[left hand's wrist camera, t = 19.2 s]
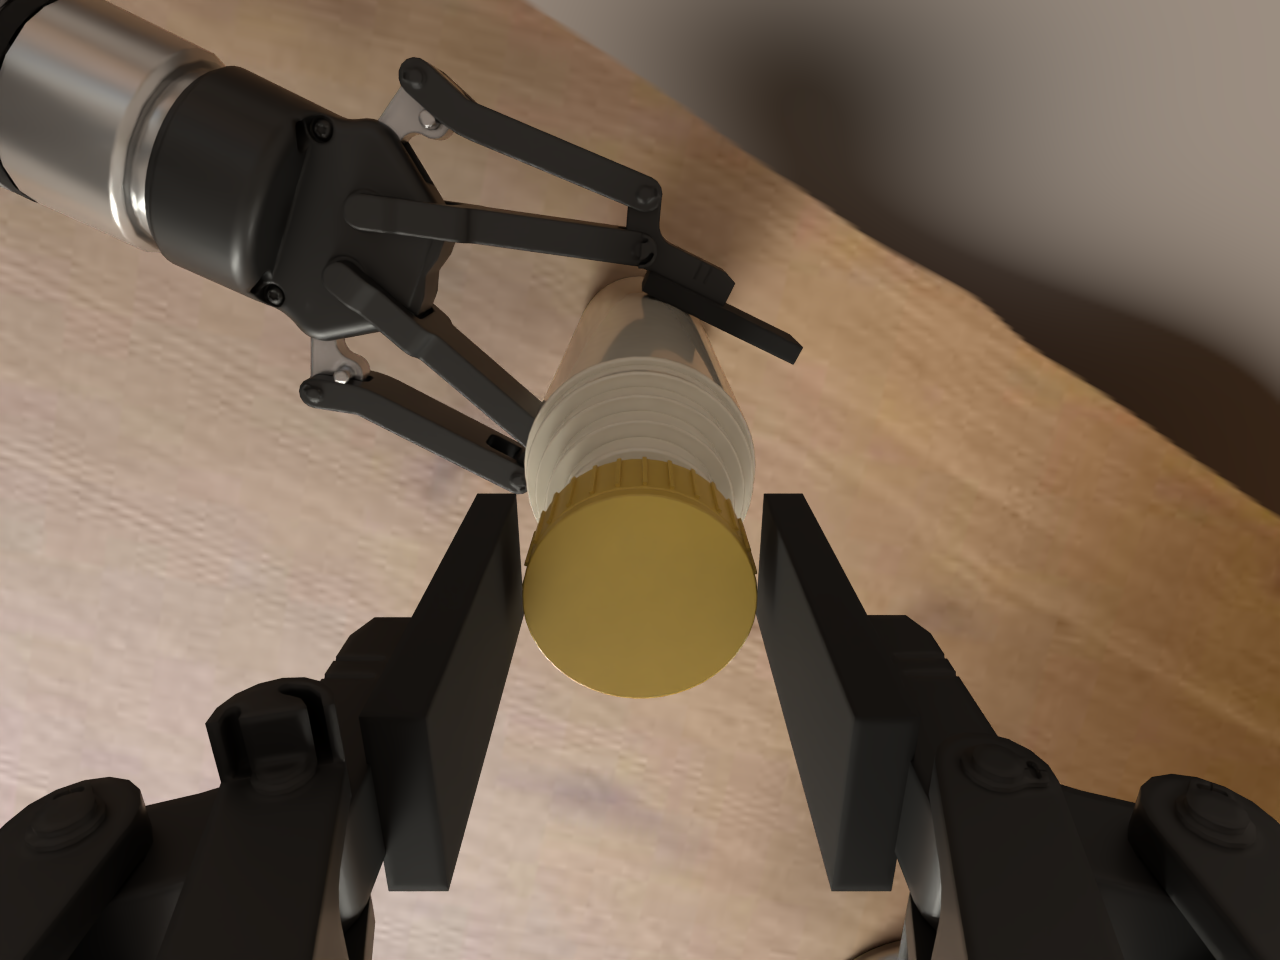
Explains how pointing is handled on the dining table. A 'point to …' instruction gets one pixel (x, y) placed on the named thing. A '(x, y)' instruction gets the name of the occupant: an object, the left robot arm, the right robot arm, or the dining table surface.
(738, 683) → the dining table surface
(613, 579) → the cap
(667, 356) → the bottle
